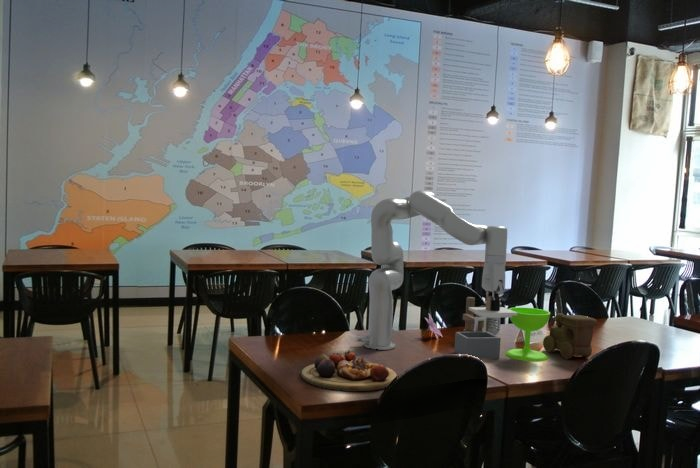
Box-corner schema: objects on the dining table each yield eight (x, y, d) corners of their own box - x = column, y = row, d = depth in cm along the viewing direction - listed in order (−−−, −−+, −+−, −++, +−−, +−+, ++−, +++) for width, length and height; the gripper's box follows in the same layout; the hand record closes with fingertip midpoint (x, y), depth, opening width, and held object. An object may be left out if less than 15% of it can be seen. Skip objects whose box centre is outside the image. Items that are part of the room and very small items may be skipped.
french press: (504, 334, 288) (507, 280, 286) (478, 333, 288) (481, 279, 286) (499, 330, 298) (502, 277, 296) (474, 329, 298) (477, 276, 296)
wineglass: (497, 352, 254) (500, 308, 253) (529, 350, 260) (532, 306, 259) (523, 362, 239) (526, 315, 238) (556, 360, 246) (559, 314, 245)
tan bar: (478, 327, 256) (479, 321, 256) (462, 319, 271) (463, 313, 271) (483, 327, 256) (483, 321, 256) (467, 319, 272) (467, 313, 272)
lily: (425, 343, 269) (438, 325, 267) (408, 328, 277) (420, 310, 276) (441, 348, 277) (453, 330, 276) (424, 333, 285) (435, 315, 284)
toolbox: (465, 359, 241) (467, 325, 240) (450, 349, 255) (452, 317, 254) (500, 358, 244) (502, 324, 244) (483, 349, 258) (485, 317, 258)
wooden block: (488, 338, 279) (490, 297, 278) (466, 339, 276) (469, 298, 275) (483, 336, 283) (485, 296, 282) (462, 337, 279) (464, 296, 278)
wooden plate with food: (417, 385, 206) (418, 360, 205) (334, 398, 188) (335, 371, 187) (360, 363, 232) (361, 341, 232) (283, 373, 214) (284, 348, 214)
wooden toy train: (596, 361, 247) (599, 319, 246) (572, 362, 243) (575, 319, 242) (561, 348, 266) (564, 309, 265) (539, 350, 261) (541, 310, 260)
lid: (481, 318, 225) (482, 298, 224) (468, 312, 235) (469, 293, 235) (517, 318, 228) (518, 298, 228) (502, 312, 239) (503, 294, 238)
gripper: (476, 257, 238) (473, 305, 239) (496, 262, 222) (493, 314, 223) (494, 257, 239) (491, 305, 241) (515, 262, 224) (512, 314, 225)
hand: (492, 309), depth 232 cm, fingers closed on lid, 3 cm apart
